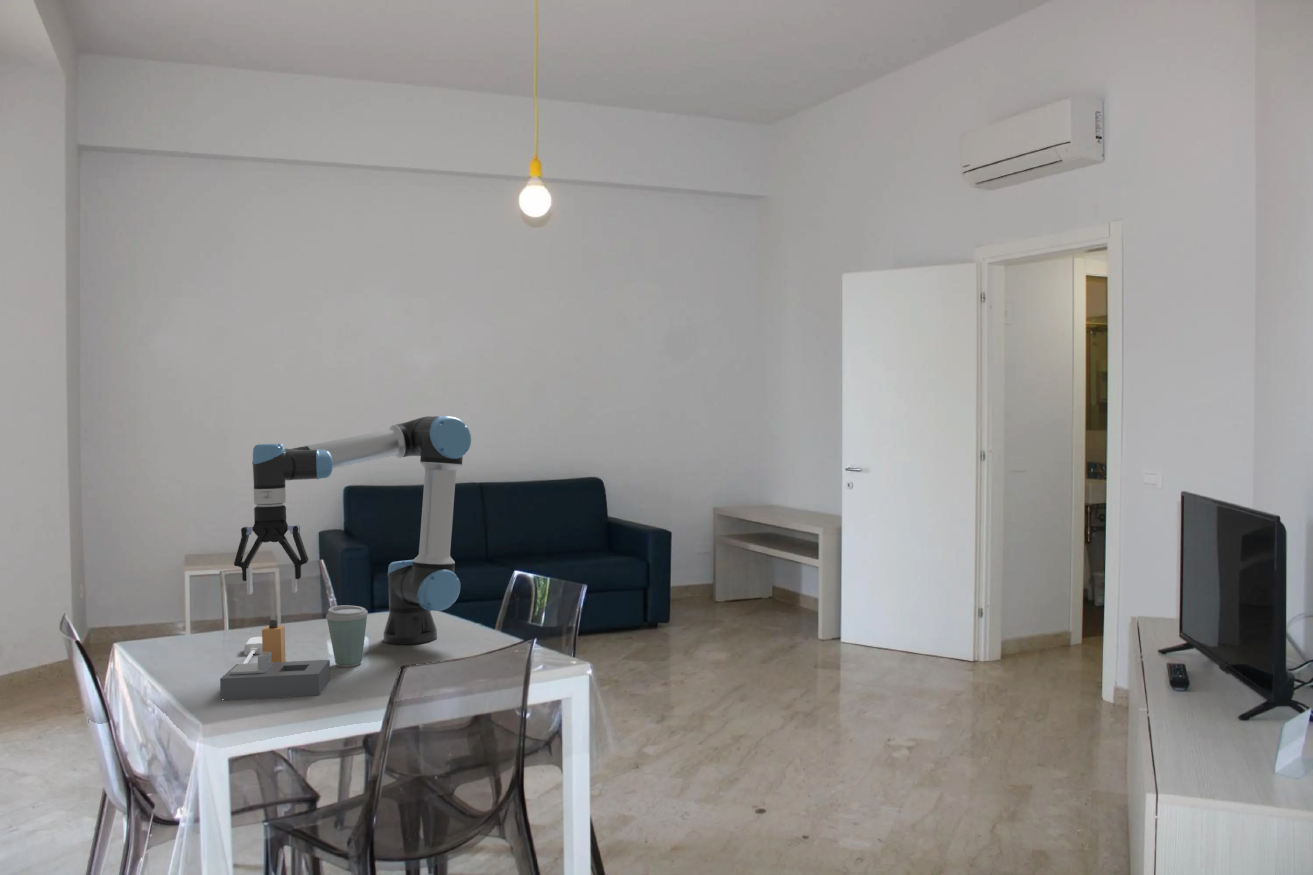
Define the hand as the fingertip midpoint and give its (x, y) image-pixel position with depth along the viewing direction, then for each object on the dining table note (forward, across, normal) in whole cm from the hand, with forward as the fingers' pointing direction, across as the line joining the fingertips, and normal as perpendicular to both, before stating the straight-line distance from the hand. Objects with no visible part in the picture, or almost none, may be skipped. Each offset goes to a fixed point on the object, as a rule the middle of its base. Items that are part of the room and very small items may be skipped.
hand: (272, 592), depth 260 cm
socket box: (+21, +4, -15) cm, 26 cm away
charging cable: (+21, -11, +20) cm, 31 cm away
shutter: (+16, -2, -15) cm, 22 cm away
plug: (+21, 0, 0) cm, 21 cm away
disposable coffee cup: (+21, +17, +7) cm, 28 cm away
